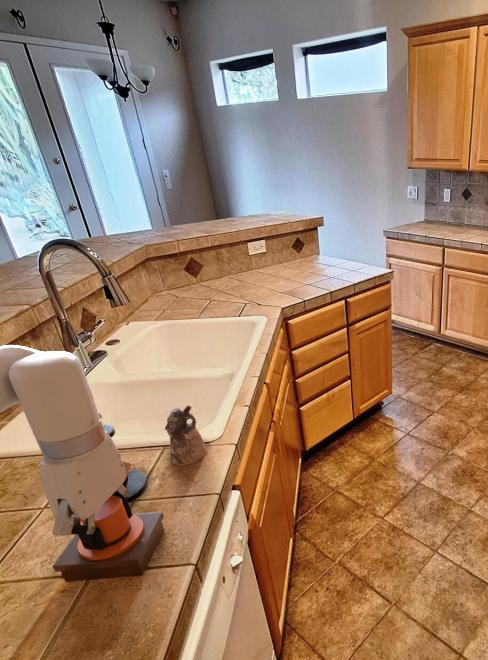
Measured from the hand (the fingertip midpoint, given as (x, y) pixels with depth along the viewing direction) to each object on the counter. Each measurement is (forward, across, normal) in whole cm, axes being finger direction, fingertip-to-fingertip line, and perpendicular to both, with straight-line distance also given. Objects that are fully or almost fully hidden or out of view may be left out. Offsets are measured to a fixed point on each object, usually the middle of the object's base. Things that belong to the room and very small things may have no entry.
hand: (109, 531), depth 68 cm
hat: (+1, 0, 0) cm, 1 cm away
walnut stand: (+5, 0, 0) cm, 5 cm away
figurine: (+6, -27, -2) cm, 27 cm away
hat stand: (+5, -14, -10) cm, 18 cm away
